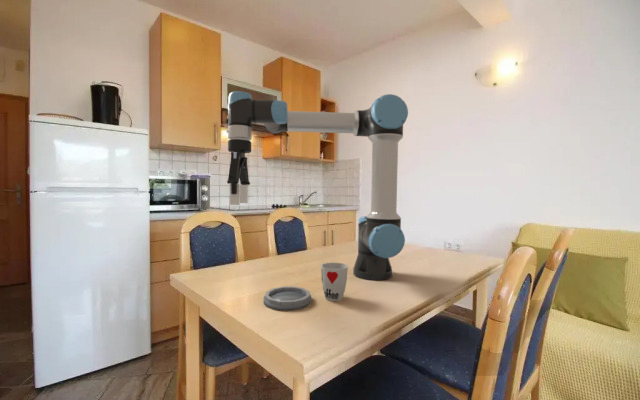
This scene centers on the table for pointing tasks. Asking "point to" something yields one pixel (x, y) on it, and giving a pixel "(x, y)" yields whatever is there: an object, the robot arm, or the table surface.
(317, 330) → the table surface
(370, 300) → the table surface
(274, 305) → the tray
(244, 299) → the table surface
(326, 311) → the table surface
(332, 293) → the cup
